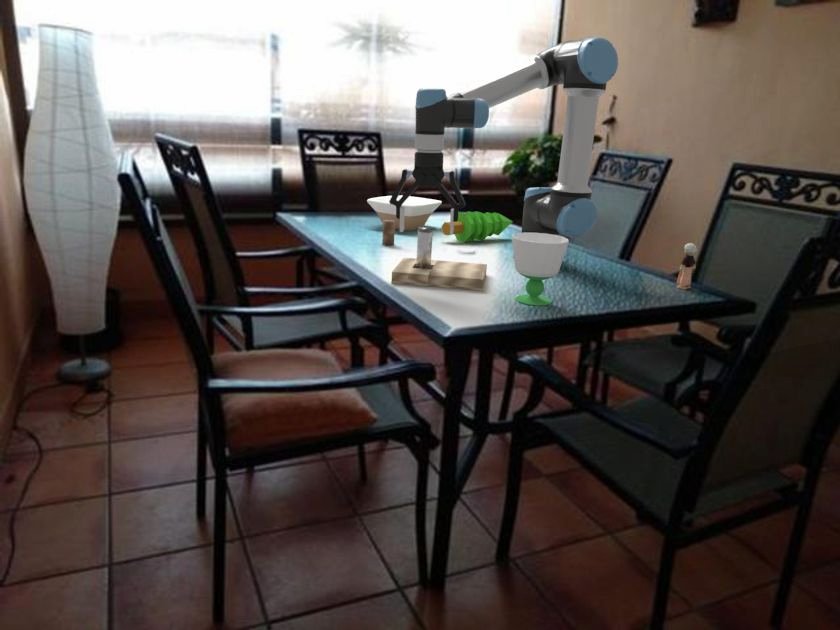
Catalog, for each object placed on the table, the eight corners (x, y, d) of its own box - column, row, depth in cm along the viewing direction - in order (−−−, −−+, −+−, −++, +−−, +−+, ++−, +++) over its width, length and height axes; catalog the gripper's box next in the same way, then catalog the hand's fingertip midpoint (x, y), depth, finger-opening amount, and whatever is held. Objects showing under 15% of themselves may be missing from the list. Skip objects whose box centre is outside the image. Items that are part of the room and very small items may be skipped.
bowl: (445, 227, 254) (447, 200, 251) (412, 235, 234) (413, 206, 231) (396, 219, 266) (397, 194, 263) (360, 226, 246) (361, 199, 243)
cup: (554, 294, 165) (561, 233, 160) (567, 309, 152) (575, 244, 147) (501, 291, 164) (507, 231, 159) (510, 307, 151) (517, 242, 146)
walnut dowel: (395, 243, 218) (395, 220, 215) (392, 245, 214) (393, 222, 212) (383, 242, 218) (384, 219, 216) (381, 244, 215) (381, 221, 212)
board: (486, 274, 181) (486, 264, 181) (482, 290, 164) (483, 279, 164) (403, 267, 185) (403, 257, 184) (391, 282, 168) (391, 271, 167)
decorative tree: (441, 206, 223) (509, 201, 237) (434, 234, 230) (500, 227, 244) (458, 223, 216) (526, 217, 230) (450, 251, 223) (517, 243, 237)
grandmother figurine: (680, 284, 182) (688, 240, 178) (694, 286, 180) (702, 242, 176) (671, 288, 176) (679, 243, 173) (685, 291, 174) (693, 246, 170)
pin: (431, 273, 177) (433, 227, 173) (429, 277, 173) (432, 229, 169) (416, 272, 177) (419, 226, 173) (414, 275, 173) (416, 228, 169)
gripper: (478, 152, 167) (473, 232, 173) (385, 148, 170) (384, 227, 177) (476, 154, 160) (471, 237, 166) (379, 150, 163) (378, 232, 170)
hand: (426, 232), depth 172 cm, fingers open, 13 cm apart
